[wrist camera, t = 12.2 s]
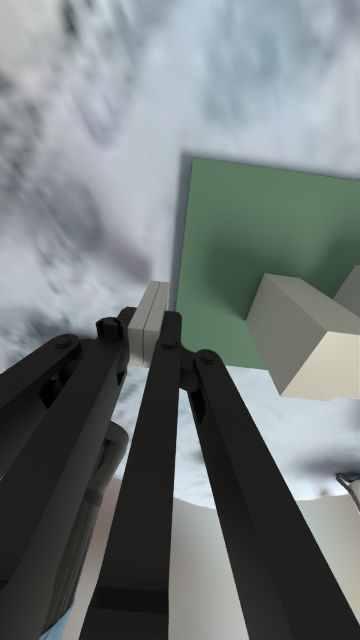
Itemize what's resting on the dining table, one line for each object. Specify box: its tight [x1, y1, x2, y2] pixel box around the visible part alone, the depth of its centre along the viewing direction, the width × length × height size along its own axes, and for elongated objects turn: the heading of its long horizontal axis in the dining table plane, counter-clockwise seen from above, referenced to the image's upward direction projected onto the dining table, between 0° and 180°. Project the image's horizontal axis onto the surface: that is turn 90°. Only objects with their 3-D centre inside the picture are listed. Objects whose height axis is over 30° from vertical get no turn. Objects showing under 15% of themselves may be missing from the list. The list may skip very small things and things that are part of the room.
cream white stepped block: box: [245, 273, 360, 401], centre depth 13 cm, size 7×5×8 cm
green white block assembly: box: [175, 157, 360, 370], centre depth 13 cm, size 28×18×9 cm, turn 84°
